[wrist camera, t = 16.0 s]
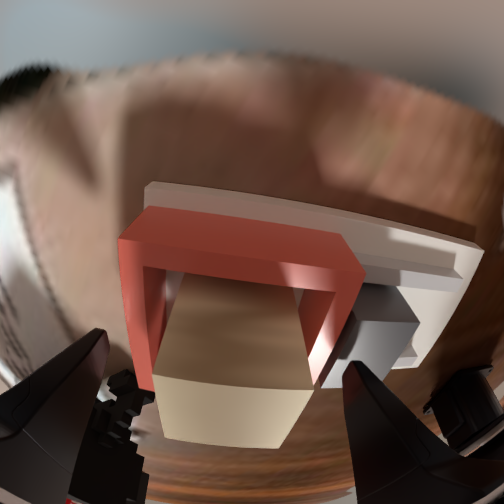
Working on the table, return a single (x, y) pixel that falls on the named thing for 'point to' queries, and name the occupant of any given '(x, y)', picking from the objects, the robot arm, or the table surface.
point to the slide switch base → (284, 264)
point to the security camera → (110, 447)
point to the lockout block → (232, 364)
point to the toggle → (371, 333)
